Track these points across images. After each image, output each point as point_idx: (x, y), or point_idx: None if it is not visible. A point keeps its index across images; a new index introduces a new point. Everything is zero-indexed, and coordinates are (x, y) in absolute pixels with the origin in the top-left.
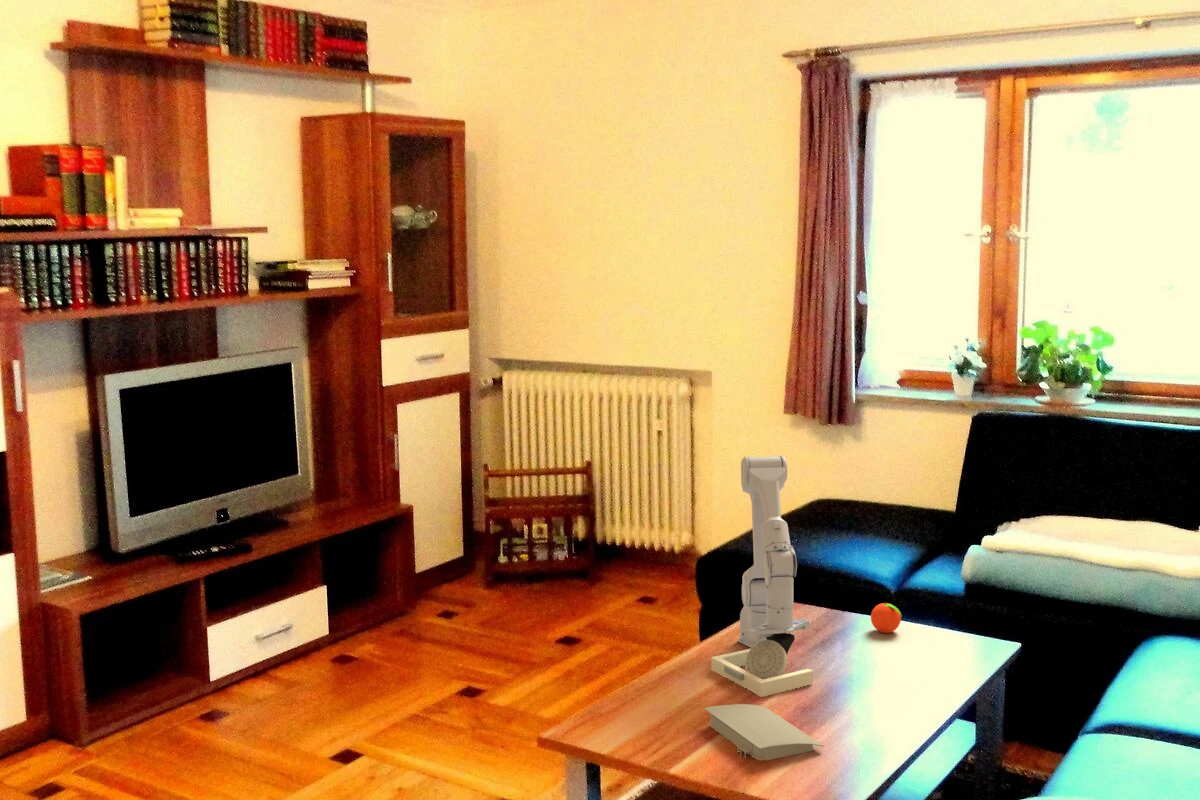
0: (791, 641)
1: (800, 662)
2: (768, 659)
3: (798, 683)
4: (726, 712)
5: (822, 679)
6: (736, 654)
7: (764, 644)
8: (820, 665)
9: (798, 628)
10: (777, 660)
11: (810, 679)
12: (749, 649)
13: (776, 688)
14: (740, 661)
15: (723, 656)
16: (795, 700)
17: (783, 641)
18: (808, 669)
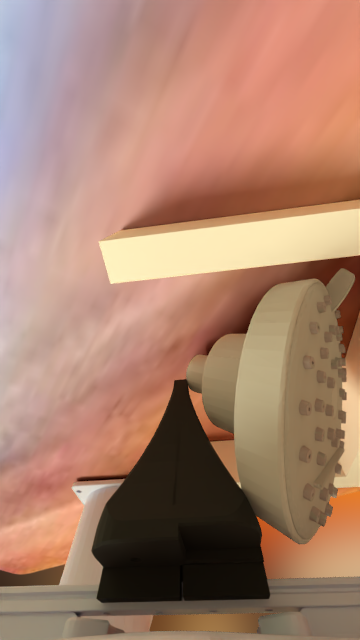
0: (132, 495)
1: (80, 411)
2: (329, 391)
3: (206, 221)
4: None
5: (56, 266)
6: None
7: (320, 507)
8: (23, 376)
9: (17, 605)
10: (314, 354)
11: (128, 232)
12: None
13: (354, 202)
14: None
15: None
16: (337, 34)
17: (215, 508)
18: (116, 271)
